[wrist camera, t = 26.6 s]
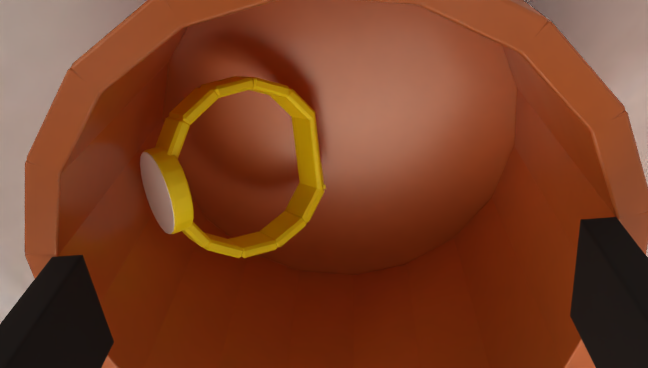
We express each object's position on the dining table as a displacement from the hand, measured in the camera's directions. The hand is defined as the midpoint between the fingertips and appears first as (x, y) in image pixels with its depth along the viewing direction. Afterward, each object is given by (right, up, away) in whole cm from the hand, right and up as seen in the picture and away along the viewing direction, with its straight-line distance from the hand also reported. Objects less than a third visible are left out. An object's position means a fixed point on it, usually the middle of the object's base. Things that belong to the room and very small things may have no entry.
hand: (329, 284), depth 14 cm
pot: (0, +5, +9) cm, 10 cm away
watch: (0, +4, +8) cm, 8 cm away
